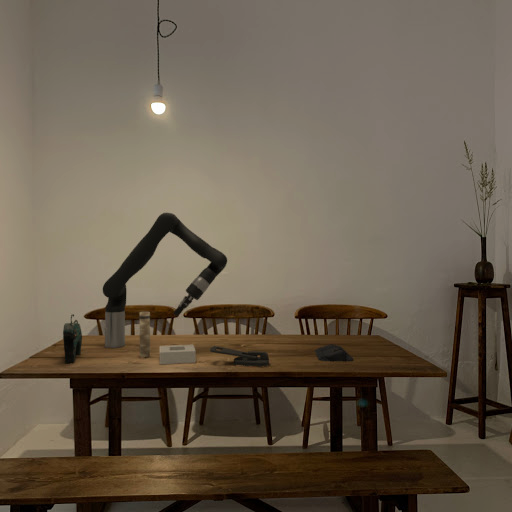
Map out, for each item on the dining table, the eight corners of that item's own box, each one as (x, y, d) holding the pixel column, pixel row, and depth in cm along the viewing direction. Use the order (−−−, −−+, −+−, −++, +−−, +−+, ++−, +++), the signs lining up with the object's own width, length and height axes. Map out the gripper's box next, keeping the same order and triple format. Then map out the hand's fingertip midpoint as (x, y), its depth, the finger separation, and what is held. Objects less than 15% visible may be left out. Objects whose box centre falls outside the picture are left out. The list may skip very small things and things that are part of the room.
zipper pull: (212, 345, 206) (269, 346, 203) (212, 360, 206) (269, 362, 203) (208, 349, 197) (267, 351, 194) (208, 365, 197) (267, 367, 194)
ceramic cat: (75, 364, 198) (75, 317, 197) (59, 365, 197) (58, 317, 196) (84, 353, 218) (84, 310, 217) (69, 354, 216) (69, 310, 216)
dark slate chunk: (345, 351, 226) (345, 341, 225) (354, 362, 204) (354, 351, 203) (313, 350, 226) (313, 341, 226) (318, 362, 204) (318, 351, 204)
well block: (159, 364, 198) (159, 352, 198) (159, 357, 211) (159, 345, 211) (195, 362, 201) (195, 351, 201) (193, 355, 214) (193, 344, 214)
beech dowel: (139, 358, 209) (139, 313, 208) (139, 355, 213) (139, 311, 213) (150, 357, 210) (149, 312, 209) (150, 355, 214) (150, 311, 214)
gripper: (189, 283, 229) (167, 309, 225) (193, 281, 216) (170, 309, 211) (201, 293, 230) (180, 319, 226) (206, 291, 217) (183, 319, 212)
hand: (175, 314), depth 218 cm, fingers open, 8 cm apart
